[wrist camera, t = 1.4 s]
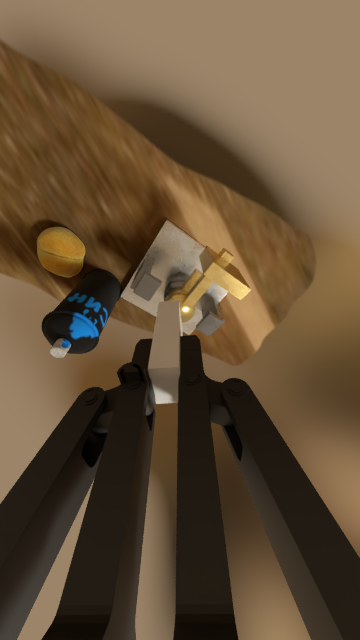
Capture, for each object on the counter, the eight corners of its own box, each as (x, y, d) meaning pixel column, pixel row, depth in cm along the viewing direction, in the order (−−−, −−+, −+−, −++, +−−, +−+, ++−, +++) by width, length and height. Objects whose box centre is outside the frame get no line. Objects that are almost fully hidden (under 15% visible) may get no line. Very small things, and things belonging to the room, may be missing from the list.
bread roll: (88, 235, 39) (80, 240, 36) (83, 277, 44) (75, 285, 41) (41, 217, 37) (27, 221, 34) (40, 263, 42) (28, 271, 39)
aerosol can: (104, 311, 48) (65, 381, 32) (74, 285, 45) (11, 349, 28) (130, 290, 45) (101, 356, 29) (99, 260, 42) (46, 316, 25)
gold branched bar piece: (147, 316, 41) (139, 355, 32) (208, 232, 33) (219, 254, 24) (173, 330, 43) (172, 370, 34) (237, 255, 34) (257, 282, 26)
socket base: (121, 294, 46) (109, 318, 38) (167, 218, 37) (163, 230, 30) (189, 332, 52) (190, 360, 44) (241, 274, 43) (255, 296, 35)
